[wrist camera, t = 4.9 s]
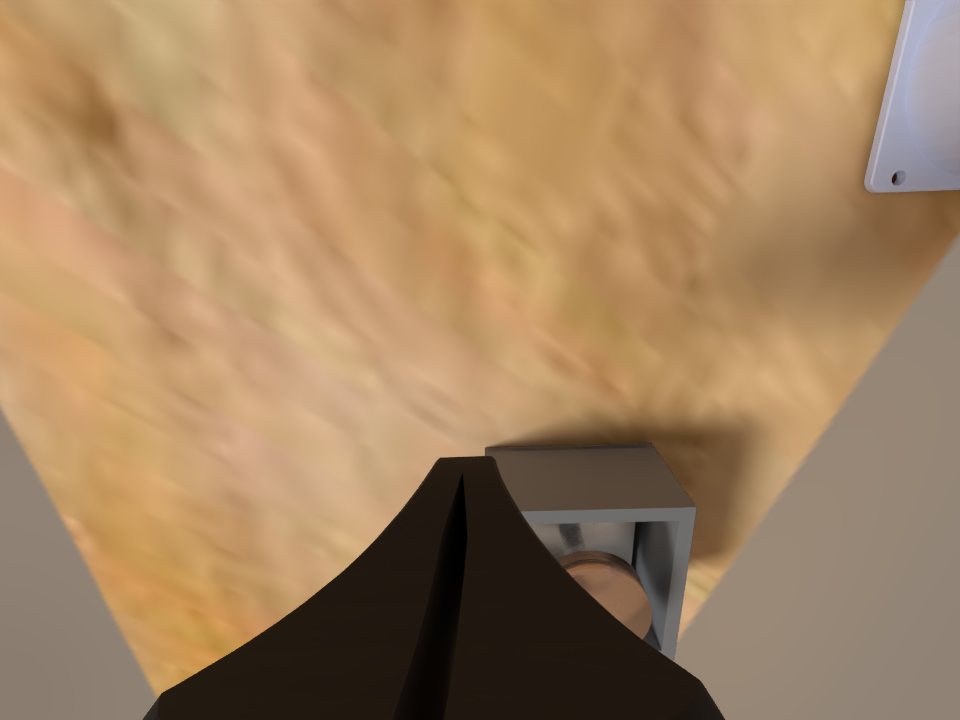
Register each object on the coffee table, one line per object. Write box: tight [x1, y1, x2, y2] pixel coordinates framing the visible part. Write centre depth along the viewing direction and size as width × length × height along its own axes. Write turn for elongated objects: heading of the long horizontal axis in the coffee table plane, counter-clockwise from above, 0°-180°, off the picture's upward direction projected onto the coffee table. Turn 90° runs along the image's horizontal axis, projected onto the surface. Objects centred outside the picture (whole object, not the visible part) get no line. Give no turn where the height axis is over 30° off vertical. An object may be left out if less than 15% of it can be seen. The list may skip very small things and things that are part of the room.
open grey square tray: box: [485, 443, 697, 660], centre depth 20 cm, size 8×8×5 cm
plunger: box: [529, 522, 652, 639], centre depth 19 cm, size 6×6×5 cm
